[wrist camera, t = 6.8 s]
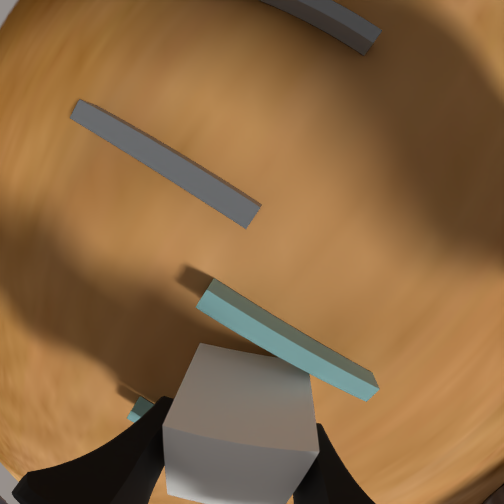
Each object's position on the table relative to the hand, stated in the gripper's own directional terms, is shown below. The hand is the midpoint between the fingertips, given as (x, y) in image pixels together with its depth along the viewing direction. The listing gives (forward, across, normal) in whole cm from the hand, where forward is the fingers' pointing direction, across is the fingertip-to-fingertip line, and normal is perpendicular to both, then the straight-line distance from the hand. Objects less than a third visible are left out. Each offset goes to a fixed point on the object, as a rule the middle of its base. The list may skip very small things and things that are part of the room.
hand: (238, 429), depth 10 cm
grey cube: (+2, 0, 0) cm, 2 cm away
